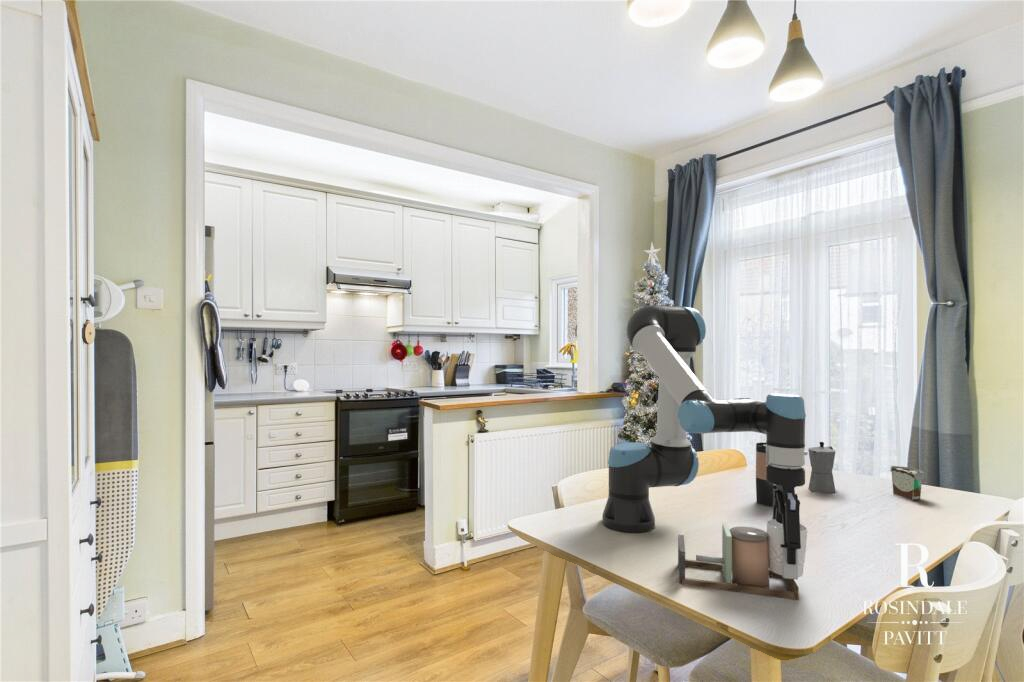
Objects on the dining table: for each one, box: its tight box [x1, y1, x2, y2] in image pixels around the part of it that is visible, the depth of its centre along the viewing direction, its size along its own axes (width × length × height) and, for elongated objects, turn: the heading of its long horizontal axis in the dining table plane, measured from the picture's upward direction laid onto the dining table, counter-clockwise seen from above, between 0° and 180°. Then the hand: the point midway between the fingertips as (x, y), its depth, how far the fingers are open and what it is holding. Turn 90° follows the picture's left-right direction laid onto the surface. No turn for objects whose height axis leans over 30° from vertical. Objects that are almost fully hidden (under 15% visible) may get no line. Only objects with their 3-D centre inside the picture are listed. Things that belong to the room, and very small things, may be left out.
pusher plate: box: [695, 522, 733, 584], centre depth 117 cm, size 7×9×11 cm
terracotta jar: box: [729, 526, 770, 588], centre depth 114 cm, size 8×8×11 cm
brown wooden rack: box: [677, 534, 800, 601], centre depth 115 cm, size 23×12×7 cm, turn 73°
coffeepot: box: [807, 441, 837, 494], centre depth 194 cm, size 15×9×18 cm, turn 126°
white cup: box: [766, 518, 808, 578], centre depth 112 cm, size 8×8×10 cm
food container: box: [889, 465, 925, 502], centre depth 184 cm, size 12×6×10 cm, turn 179°
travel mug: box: [755, 442, 773, 507], centre depth 175 cm, size 8×8×20 cm
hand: (785, 570), depth 112 cm, fingers closed on white cup, 7 cm apart
